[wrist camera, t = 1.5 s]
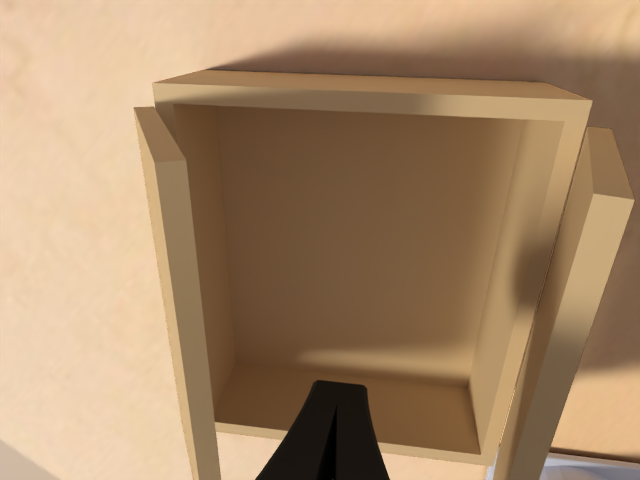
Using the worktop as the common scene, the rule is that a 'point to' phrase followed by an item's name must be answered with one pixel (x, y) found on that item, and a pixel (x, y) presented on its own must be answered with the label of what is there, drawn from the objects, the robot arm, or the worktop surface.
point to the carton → (372, 243)
